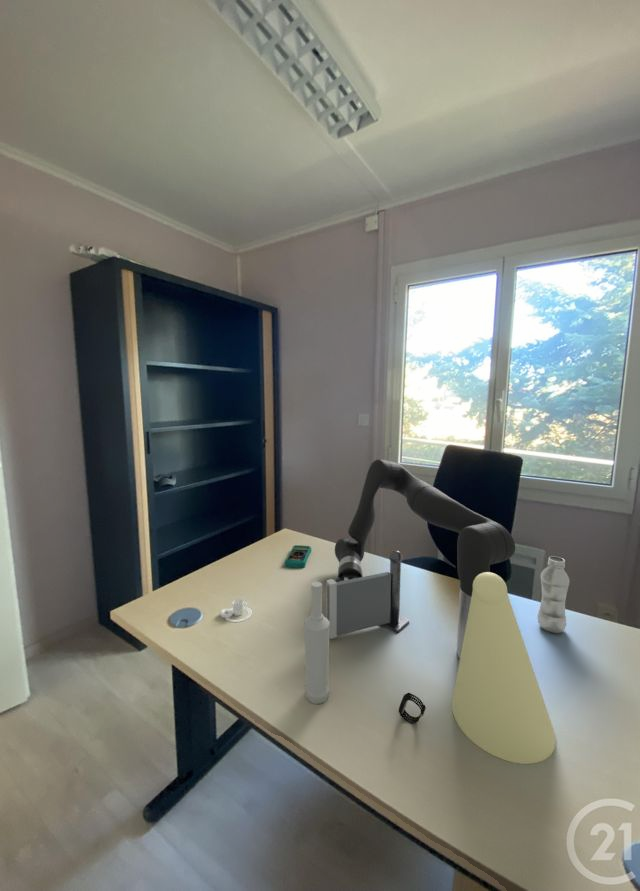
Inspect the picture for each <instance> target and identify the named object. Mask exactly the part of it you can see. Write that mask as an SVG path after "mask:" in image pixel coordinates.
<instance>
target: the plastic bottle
mask: <svg viewBox="0 0 640 891" xmlns="http://www.w3.org/2000/svg"><path fill="white" fill-rule="evenodd" d="M565 569H566V560H565V559H564V558H563V557H559V556H556V555H555V556H554V555H551V556H549V557H548V561H547V567H545V568H544V569H543V570H542V572H541V573H540V582H541V584H540V585H541V601H540V606H539V609H538V612H537V623H538V625H539V626H540V628H542V629H543V630H545V631H547V632H549V633H554V634H561V633H563V632H564V631H565V630H566V627H567V616H566V599H567V593H568V590H569V586H570V582H571V580H570V577H569V576H568V574H567V572H566V571H565Z"/></svg>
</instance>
